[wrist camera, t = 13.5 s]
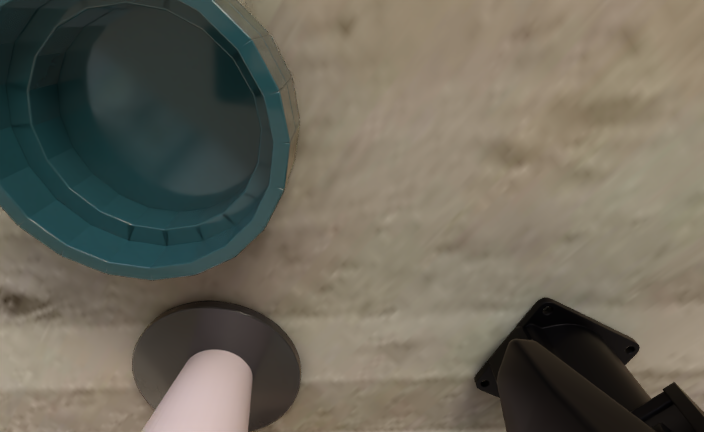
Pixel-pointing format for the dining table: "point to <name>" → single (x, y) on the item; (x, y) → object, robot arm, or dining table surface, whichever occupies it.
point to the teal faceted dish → (142, 130)
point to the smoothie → (206, 396)
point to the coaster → (220, 334)
